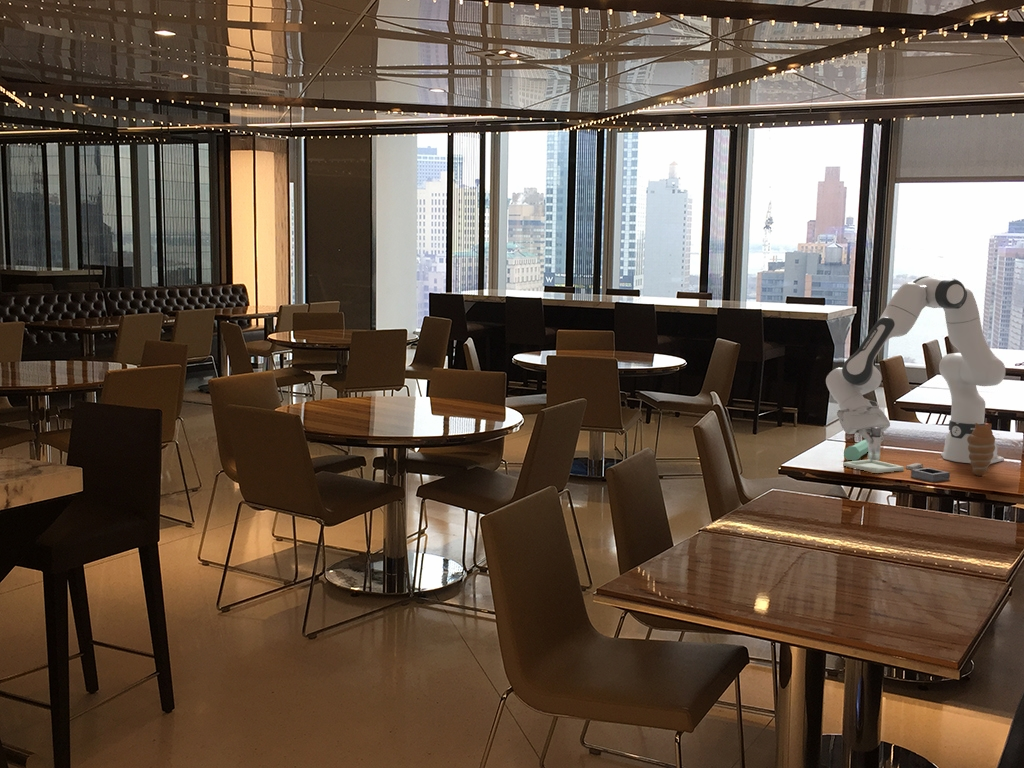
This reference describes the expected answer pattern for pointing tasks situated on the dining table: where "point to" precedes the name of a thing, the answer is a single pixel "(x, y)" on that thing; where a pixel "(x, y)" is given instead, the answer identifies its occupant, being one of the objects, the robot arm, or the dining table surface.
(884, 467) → the tray
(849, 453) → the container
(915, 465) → the drift key
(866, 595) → the dining table surface
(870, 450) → the grey capped bottle
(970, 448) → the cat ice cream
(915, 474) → the socket collar
